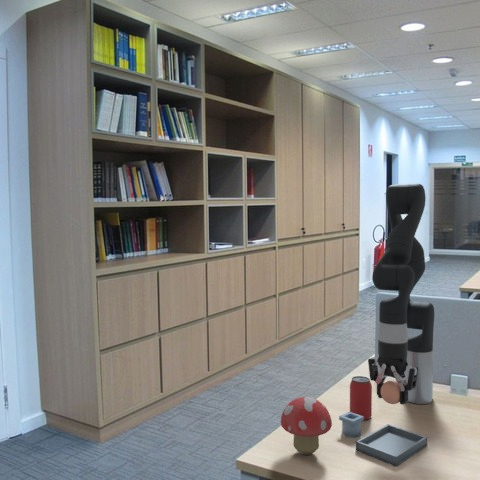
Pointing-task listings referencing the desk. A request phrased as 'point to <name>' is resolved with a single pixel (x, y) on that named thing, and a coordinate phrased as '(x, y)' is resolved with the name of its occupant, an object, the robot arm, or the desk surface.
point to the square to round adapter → (351, 424)
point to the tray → (391, 444)
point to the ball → (391, 392)
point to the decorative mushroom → (306, 423)
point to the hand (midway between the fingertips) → (392, 400)
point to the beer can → (361, 396)
